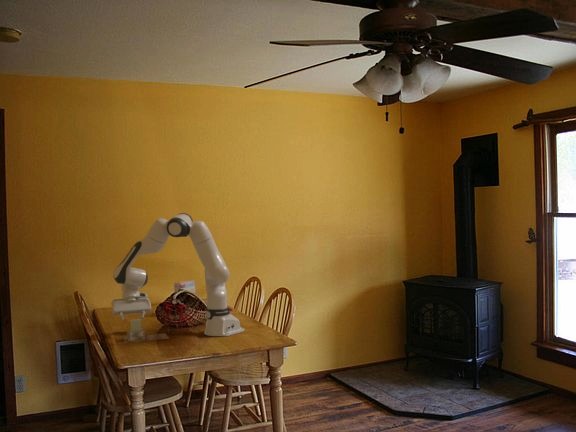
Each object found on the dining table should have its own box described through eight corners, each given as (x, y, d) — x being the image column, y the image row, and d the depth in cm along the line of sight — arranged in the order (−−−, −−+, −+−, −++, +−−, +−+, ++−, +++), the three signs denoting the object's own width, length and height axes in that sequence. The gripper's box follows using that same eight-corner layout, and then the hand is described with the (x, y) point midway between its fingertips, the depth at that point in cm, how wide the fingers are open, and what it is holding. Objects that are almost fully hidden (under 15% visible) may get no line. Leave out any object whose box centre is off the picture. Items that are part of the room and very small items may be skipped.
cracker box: (188, 311, 357) (188, 279, 356) (195, 312, 354) (195, 280, 353) (174, 315, 345) (173, 282, 344) (181, 316, 342) (180, 283, 341)
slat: (140, 338, 282) (140, 318, 282) (141, 338, 280) (141, 319, 280) (131, 339, 280) (130, 319, 280) (131, 339, 278) (131, 320, 278)
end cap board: (165, 336, 292) (165, 325, 292) (169, 341, 281) (169, 330, 280) (123, 340, 283) (122, 329, 283) (125, 345, 272) (125, 335, 272)
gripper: (111, 296, 292) (113, 317, 283) (150, 293, 300) (152, 314, 291) (110, 303, 296) (112, 324, 288) (149, 300, 304) (151, 321, 295)
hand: (133, 319), depth 289 cm, fingers open, 8 cm apart
